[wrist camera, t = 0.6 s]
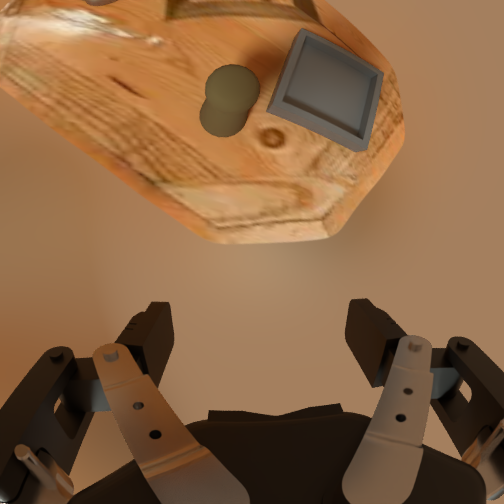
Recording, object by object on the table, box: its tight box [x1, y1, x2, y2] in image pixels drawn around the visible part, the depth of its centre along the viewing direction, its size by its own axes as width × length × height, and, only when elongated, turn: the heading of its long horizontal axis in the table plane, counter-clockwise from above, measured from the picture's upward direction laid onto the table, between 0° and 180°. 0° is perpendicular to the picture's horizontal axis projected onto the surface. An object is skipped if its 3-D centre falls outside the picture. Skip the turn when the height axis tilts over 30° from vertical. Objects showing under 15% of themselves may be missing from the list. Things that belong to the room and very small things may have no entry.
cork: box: [200, 64, 260, 137], centre depth 26 cm, size 6×6×11 cm
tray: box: [266, 28, 384, 152], centre depth 32 cm, size 14×14×3 cm
